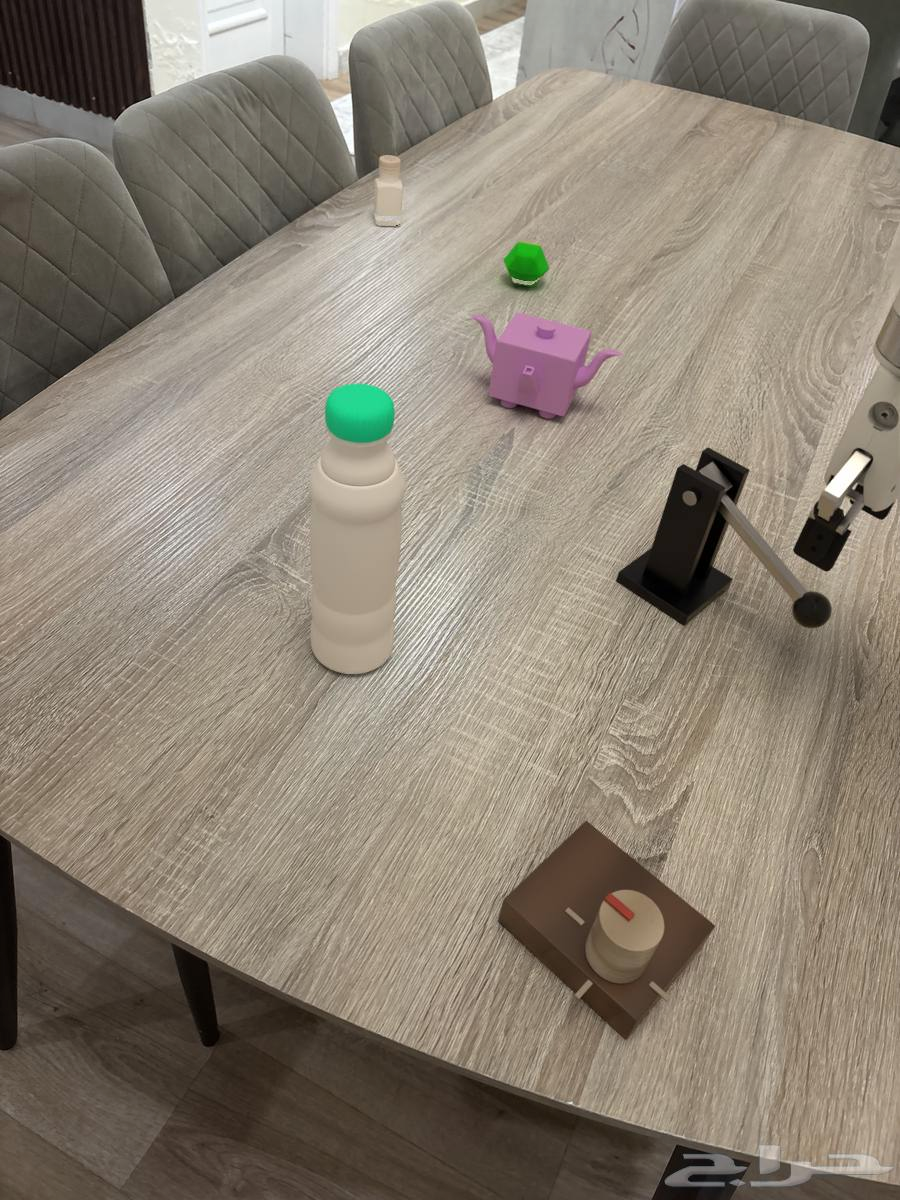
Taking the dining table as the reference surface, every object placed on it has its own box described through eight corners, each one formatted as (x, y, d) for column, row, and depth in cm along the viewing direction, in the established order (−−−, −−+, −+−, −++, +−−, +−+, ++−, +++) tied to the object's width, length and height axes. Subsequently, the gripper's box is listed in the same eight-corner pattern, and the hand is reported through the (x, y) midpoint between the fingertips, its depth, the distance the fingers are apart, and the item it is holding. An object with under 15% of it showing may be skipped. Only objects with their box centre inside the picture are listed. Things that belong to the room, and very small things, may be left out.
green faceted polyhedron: (529, 242, 128) (537, 217, 134) (491, 265, 131) (501, 239, 138) (556, 285, 131) (563, 258, 138) (518, 307, 135) (527, 280, 141)
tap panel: (710, 952, 64) (724, 930, 62) (618, 1066, 58) (630, 1046, 56) (578, 842, 69) (586, 818, 67) (481, 936, 63) (487, 913, 61)
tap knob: (659, 954, 60) (678, 918, 57) (622, 997, 58) (640, 962, 55) (609, 912, 62) (626, 874, 59) (572, 952, 60) (587, 915, 57)
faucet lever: (819, 623, 83) (845, 608, 81) (802, 640, 81) (828, 625, 79) (696, 475, 85) (718, 456, 83) (677, 489, 83) (698, 470, 81)
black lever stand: (729, 587, 92) (776, 473, 82) (684, 625, 87) (728, 509, 78) (662, 546, 95) (700, 431, 86) (615, 580, 91) (650, 464, 81)
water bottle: (378, 611, 84) (392, 364, 67) (404, 668, 80) (426, 418, 63) (301, 627, 82) (296, 375, 65) (323, 686, 78) (324, 432, 60)
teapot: (442, 408, 110) (451, 332, 103) (478, 358, 119) (488, 284, 112) (591, 450, 106) (609, 374, 100) (616, 395, 116) (634, 322, 109)
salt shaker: (401, 228, 145) (404, 164, 139) (375, 227, 145) (377, 163, 138) (398, 217, 148) (402, 154, 142) (373, 216, 147) (375, 153, 141)
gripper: (939, 412, 57) (832, 609, 69) (1035, 329, 67) (927, 514, 79) (829, 360, 61) (745, 557, 73) (935, 288, 70) (846, 472, 82)
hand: (840, 534), depth 76 cm, fingers open, 9 cm apart
